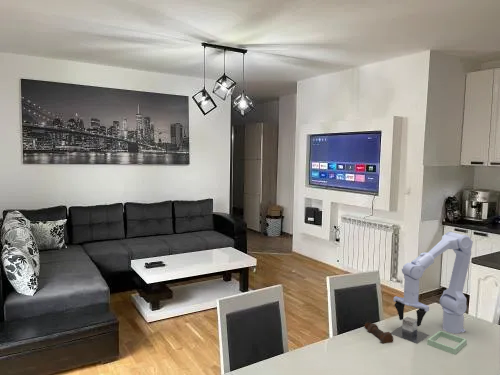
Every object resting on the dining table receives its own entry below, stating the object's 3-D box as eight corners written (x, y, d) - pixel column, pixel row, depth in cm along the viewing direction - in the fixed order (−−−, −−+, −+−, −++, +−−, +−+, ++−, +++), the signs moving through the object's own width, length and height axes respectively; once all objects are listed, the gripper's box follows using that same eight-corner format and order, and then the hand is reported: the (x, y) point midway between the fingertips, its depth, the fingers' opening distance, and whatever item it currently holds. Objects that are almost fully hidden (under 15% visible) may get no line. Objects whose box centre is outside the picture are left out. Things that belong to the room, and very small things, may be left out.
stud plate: (402, 327, 165) (402, 320, 165) (429, 337, 156) (430, 329, 156) (389, 335, 157) (389, 328, 157) (417, 346, 148) (417, 338, 148)
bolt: (368, 333, 164) (389, 348, 149) (359, 328, 162) (380, 343, 148) (374, 321, 164) (395, 335, 150) (365, 317, 163) (386, 330, 148)
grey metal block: (406, 330, 160) (407, 316, 159) (417, 334, 157) (417, 320, 156) (402, 333, 157) (402, 319, 157) (412, 337, 154) (412, 322, 153)
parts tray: (439, 337, 156) (439, 330, 156) (466, 346, 149) (466, 339, 148) (427, 346, 148) (427, 339, 148) (454, 357, 140) (455, 349, 140)
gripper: (390, 288, 158) (389, 319, 159) (424, 298, 147) (422, 331, 148) (398, 285, 163) (397, 315, 164) (431, 294, 152) (430, 326, 153)
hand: (409, 322), depth 156 cm, fingers open, 7 cm apart
